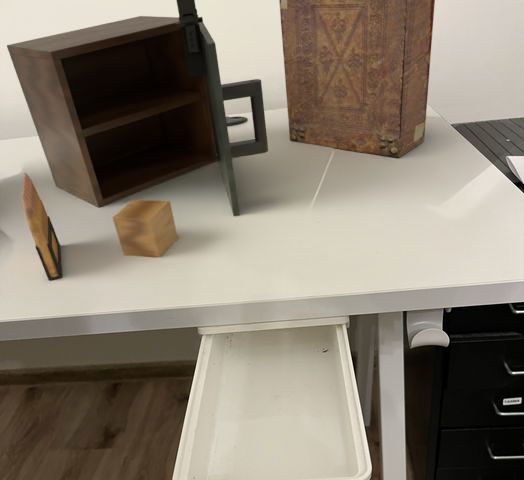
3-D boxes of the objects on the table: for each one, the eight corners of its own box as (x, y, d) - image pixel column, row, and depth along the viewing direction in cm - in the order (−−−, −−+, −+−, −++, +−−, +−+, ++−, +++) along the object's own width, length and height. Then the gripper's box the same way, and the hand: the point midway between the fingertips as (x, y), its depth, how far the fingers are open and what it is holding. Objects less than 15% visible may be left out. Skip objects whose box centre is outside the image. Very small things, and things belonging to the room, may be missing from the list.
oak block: (123, 255, 80) (112, 217, 76) (143, 236, 84) (133, 199, 81) (160, 258, 78) (150, 219, 74) (178, 238, 82) (169, 200, 79)
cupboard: (218, 161, 108) (195, 18, 93) (99, 208, 95) (50, 51, 80) (168, 145, 119) (140, 15, 104) (55, 186, 107) (6, 45, 92)
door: (252, 156, 107) (235, 13, 93) (276, 208, 87) (259, 36, 72) (217, 161, 107) (195, 19, 92) (233, 216, 86) (207, 43, 71)
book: (289, 141, 112) (275, -37, 94) (315, 127, 118) (307, -43, 99) (399, 158, 98) (409, -47, 80) (424, 142, 103) (438, -55, 85)
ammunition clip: (62, 277, 77) (30, 195, 69) (48, 280, 76) (15, 199, 69) (60, 246, 85) (31, 169, 78) (48, 248, 85) (18, 172, 77)
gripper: (194, -140, 64) (225, 80, 78) (193, -130, 74) (220, 62, 89) (130, -131, 64) (172, 88, 78) (138, -122, 74) (174, 69, 89)
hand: (198, 74), depth 83 cm, fingers closed
